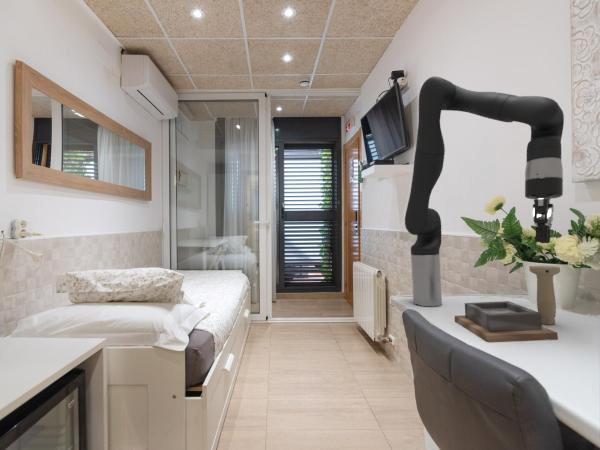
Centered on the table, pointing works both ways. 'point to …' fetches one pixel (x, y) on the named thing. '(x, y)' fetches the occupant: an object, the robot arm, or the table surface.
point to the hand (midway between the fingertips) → (543, 242)
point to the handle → (545, 292)
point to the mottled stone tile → (499, 310)
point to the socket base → (504, 323)
